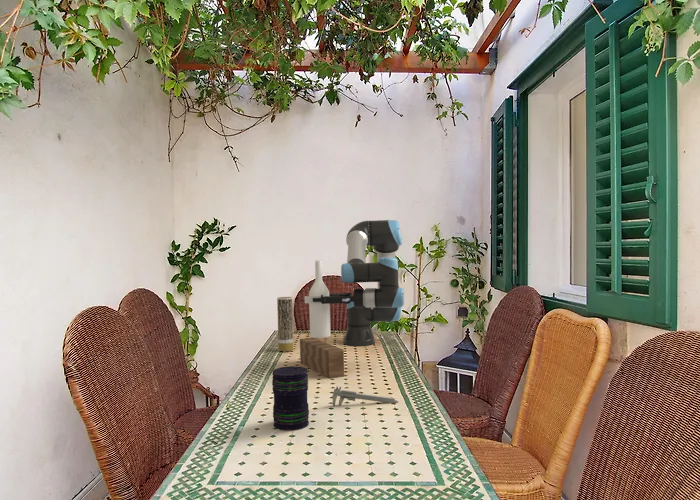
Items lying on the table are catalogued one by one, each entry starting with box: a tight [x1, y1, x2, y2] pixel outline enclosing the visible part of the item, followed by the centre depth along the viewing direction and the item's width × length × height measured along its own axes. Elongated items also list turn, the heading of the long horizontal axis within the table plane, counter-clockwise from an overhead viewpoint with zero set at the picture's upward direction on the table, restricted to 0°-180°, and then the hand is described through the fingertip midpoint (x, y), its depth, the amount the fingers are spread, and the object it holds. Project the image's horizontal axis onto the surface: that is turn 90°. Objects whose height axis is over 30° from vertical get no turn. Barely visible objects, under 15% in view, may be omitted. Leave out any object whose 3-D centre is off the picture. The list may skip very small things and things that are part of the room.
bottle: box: [308, 260, 331, 339], centre depth 207 cm, size 8×8×30 cm
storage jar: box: [271, 365, 310, 432], centre depth 144 cm, size 10×10×15 cm
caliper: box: [332, 385, 399, 407], centre depth 161 cm, size 20×1×6 cm, turn 97°
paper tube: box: [276, 296, 294, 352], centre depth 244 cm, size 7×7×25 cm
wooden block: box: [299, 337, 345, 380], centre depth 207 cm, size 30×6×10 cm, turn 26°
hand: (307, 298), depth 208 cm, fingers closed on bottle, 8 cm apart
